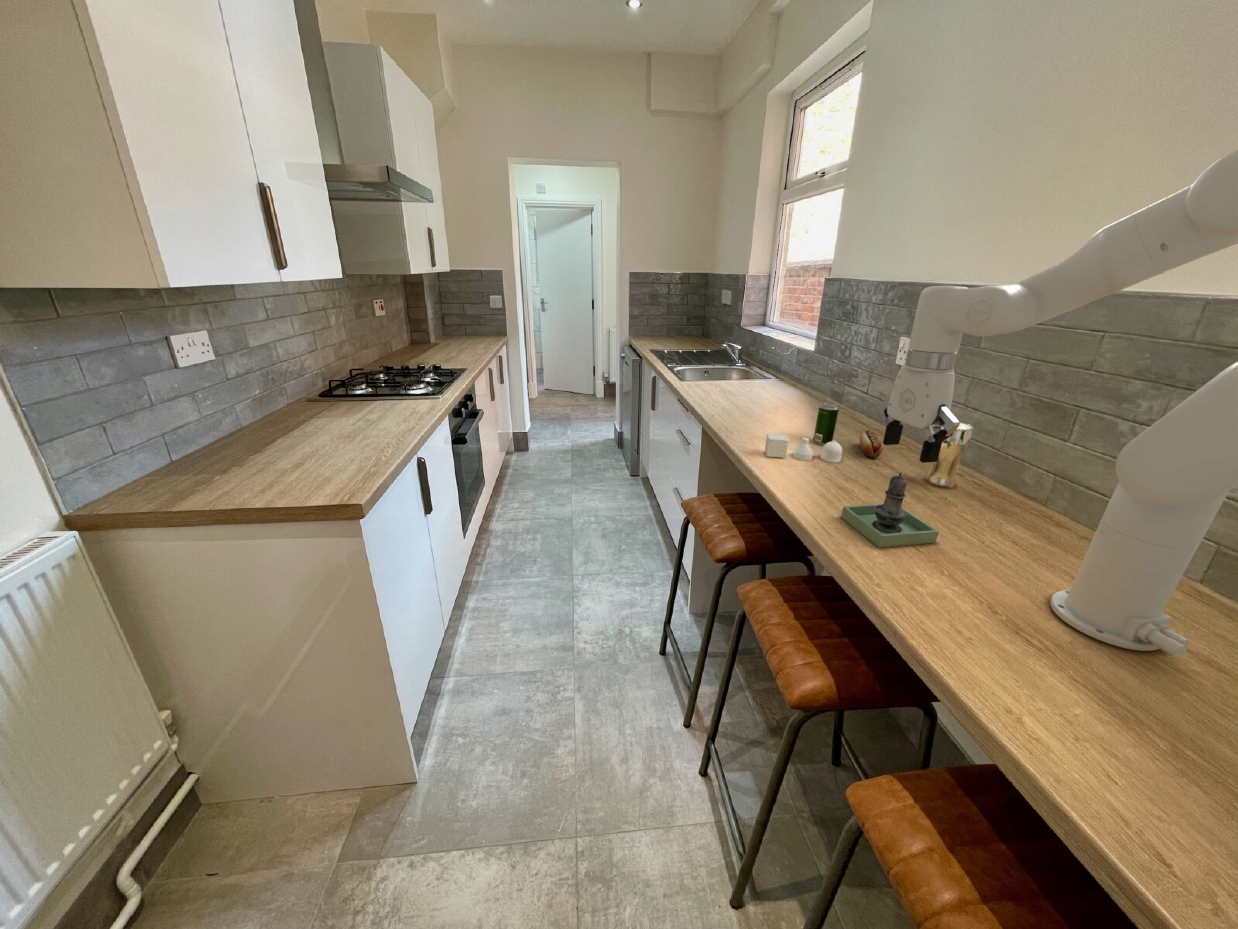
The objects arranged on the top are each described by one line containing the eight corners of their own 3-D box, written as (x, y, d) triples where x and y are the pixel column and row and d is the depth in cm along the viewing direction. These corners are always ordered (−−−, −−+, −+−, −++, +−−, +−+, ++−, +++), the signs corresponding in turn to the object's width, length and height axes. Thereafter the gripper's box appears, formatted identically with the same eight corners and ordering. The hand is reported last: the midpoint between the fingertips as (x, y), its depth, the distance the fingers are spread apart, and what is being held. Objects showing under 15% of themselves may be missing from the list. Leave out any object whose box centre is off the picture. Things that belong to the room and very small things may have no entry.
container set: (766, 457, 134) (769, 439, 132) (764, 451, 139) (767, 432, 137) (843, 463, 131) (847, 444, 129) (837, 456, 136) (841, 437, 134)
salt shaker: (907, 536, 95) (923, 479, 90) (875, 532, 96) (889, 476, 91) (897, 521, 100) (912, 467, 96) (867, 518, 101) (880, 465, 97)
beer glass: (950, 491, 116) (969, 431, 110) (919, 482, 121) (935, 424, 115) (960, 483, 120) (978, 425, 114) (929, 475, 125) (945, 418, 119)
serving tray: (935, 542, 94) (939, 531, 93) (878, 547, 92) (881, 535, 91) (892, 513, 105) (895, 502, 104) (840, 516, 103) (843, 506, 102)
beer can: (827, 447, 143) (834, 407, 138) (809, 442, 146) (816, 403, 142) (834, 443, 146) (842, 404, 142) (817, 438, 150) (824, 400, 145)
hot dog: (862, 459, 134) (866, 442, 133) (855, 443, 146) (859, 428, 144) (882, 461, 133) (886, 444, 131) (873, 445, 145) (877, 429, 143)
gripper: (878, 353, 93) (861, 439, 99) (950, 370, 77) (925, 470, 83) (913, 353, 94) (894, 437, 100) (991, 369, 78) (963, 468, 84)
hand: (908, 452), depth 92 cm, fingers open, 9 cm apart
